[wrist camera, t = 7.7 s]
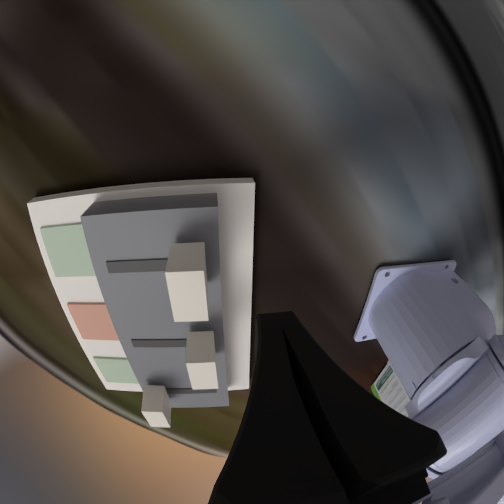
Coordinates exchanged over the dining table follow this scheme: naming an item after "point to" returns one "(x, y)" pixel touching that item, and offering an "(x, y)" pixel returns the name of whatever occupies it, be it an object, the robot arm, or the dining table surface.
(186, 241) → the switch unit
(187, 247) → the knob near
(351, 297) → the dining table surface
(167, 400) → the knob far
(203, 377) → the knob middle
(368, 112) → the dining table surface
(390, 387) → the syrup box
